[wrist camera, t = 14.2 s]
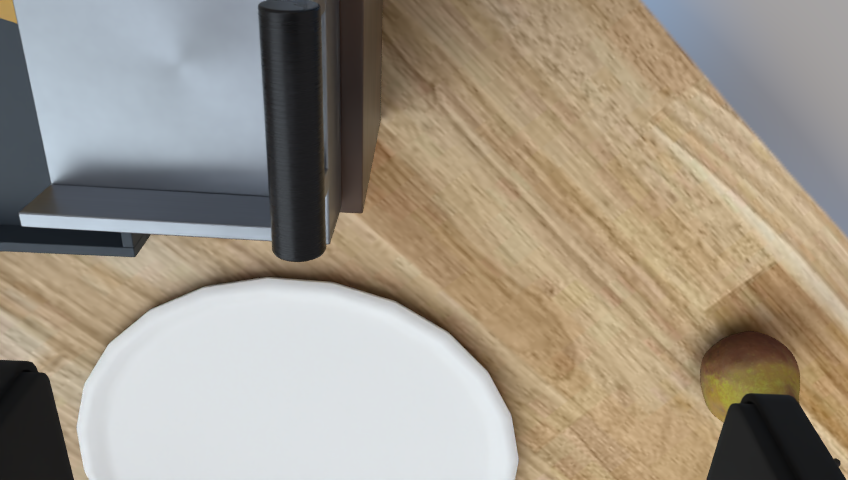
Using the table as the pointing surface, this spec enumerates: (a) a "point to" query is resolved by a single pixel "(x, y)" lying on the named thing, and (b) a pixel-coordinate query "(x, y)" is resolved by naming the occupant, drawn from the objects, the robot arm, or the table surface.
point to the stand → (359, 96)
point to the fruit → (747, 371)
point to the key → (7, 10)
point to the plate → (291, 392)
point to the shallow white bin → (188, 118)
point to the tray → (36, 169)
